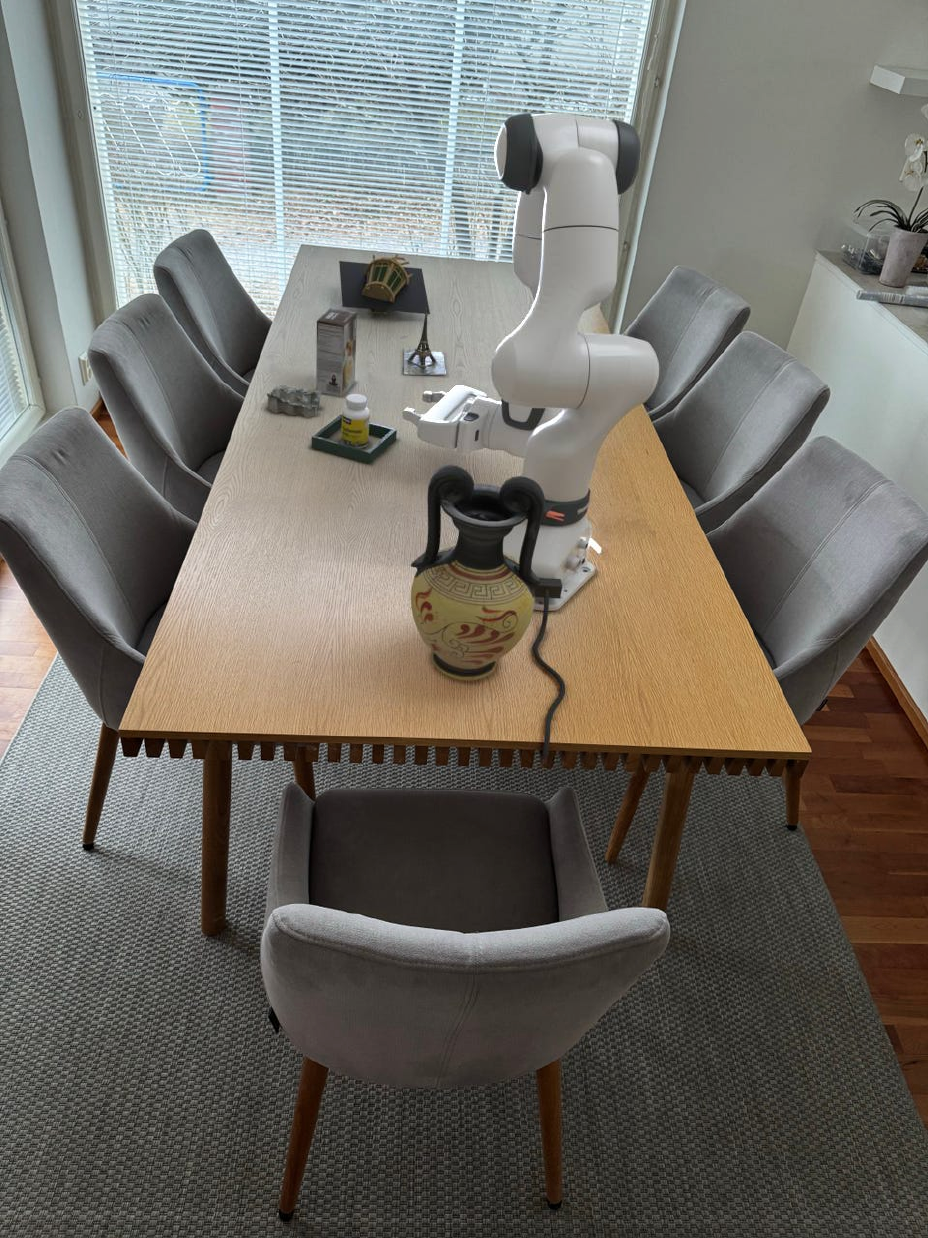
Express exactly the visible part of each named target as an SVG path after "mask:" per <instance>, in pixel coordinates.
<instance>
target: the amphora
mask: <svg viewBox="0 0 928 1238" xmlns="http://www.w3.org/2000/svg"><path fill="white" fill-rule="evenodd" d="M426 496H427V497H426V498H427V500H426V501H427V538H426V540H427V542H426V547H425V551H424V552H423V553H422V554H421V555H419V556H418V557H417V558H415V560H413V561H412V562H411V564H410V567H412V568H415V569H416V572H415V574H414V577H413V579H412V580H413V581H412V584H411V589H410V609H411V614H412V617H413V621H414V624H415V627H416V629H417V632H418V634H419V636H420V638H421V639H422V641H423V643H424V645H426V647H427V648H428V649H429V650H431V652H432V661H433V663H434V665H435V667H436V668H437V669H438V670H439V671H440V672H441V673H443V674H444V675H446V676H448V677H449V678H452V679H456V680H459V681H471V682H472V681H477V680H481V679H482V680H483V679H484V678H487V677H489V676H490V675H491V674H492V673H493V672H494V671H495V669H496V667H497V661H498V660H500V659H501V658H503V657H504V656H506V655H508V654H509V653H510V652H511V651H512V650H513V649H514V648H515V647H516V646H517V645H518V644H519V642H520V641H521V640H522V638H523V637H524V635H525V633H526V631H527V629H528V628H529V626H530V623H531V620H532V617H533V614H534V600H535V591H534V587H535V586H537V585H539V584H541V581H540V579H539V578H538V577H537V575H536V574H535V573H534V572H533V571H532V569H531V566H532V558H533V554H534V549H535V545H536V541H537V537H538V533H539V529H540V525H541V520H542V516H543V511H544V506H545V496H544V493H543V491H542V489H541V487H540V485H539V484H538V483H536V482H535V481H534V480H532V479H530V478H527V477H523V476H522V475H521V476H519V475H518V476H512V477H510V478H508V479H506V480H505V481H504V482H503V484H502V486H499V485H495V484H491V483H485V482H484V483H482V482H475V481H474V478H473V476H472V475H471V474H470V473H469V472H468V471H467V470H466V469H465V468H464V467H462V466H459V465H457V464H456V465H455V464H448V465H444V466H441V467H440V468H438V469H437V470H436V471H435V472H433V474H432V476H431V478H430V480H429V484H428V487H427V495H426ZM442 511H443V512H444V513H445V514H446V515H447V516H448V517H450V518H451V521H452V523H453V526H454V527H455V528H456V529H457V530H458V535H457V540H456V543H455V544H451V545H446V546H444V547H442V548H440V546H441V533H442ZM526 518H528V521H527V526H526V531H525V535H524V539H523V543H522V547H521V552H520V558H519V561H518V560H517V559H516V558H514V557H513V556H511V555H510V554H508V553H507V552H504V551H503V540H504V537H505V536H506V535H508V534H509V533H510V532H511V531H512V529H513V528H514V526H517V525H519V524H521V523H522V522H524V521H525V520H526Z"/></svg>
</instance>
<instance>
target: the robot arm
mask: <svg viewBox="0 0 928 1238" xmlns="http://www.w3.org/2000/svg"><path fill="white" fill-rule="evenodd" d="M641 155H642V153H641V139H640V136H639V133H638V131H637V130H636V128H635V126H634V125H632V124H630V123H628V122H625V121H622V120H619V119H615V118H612V119H610V120H607V119H603V118H598V117H592V116H585V115H584V116H583V115H576V114H575V115H574V114H573V113H562V112H561V113H539V114H531V113H530V112H524V113H517V114H514V115H509V116H508V117H507V118H506V119H505V121H504V122H503V123H502V124H501V125H500V129H499V132H498V136H497V138H496V141H495V145H494V162H495V167H496V171H497V176H498V179H499V180H500V181H501V182H502V184H503V185H504V186H505V187H507V188H509V189H511V190H513V191H517V192H519V193H518V198H517V202H516V208H515V215H514V221H513V231H512V243H511V244H512V245H511V249H512V250H511V252H512V253H511V254H512V266H513V272H514V274H515V276H516V277H517V279H518V280H519V281H520V282H521V284H523V285H524V287H527V288H528V289H529V291H530V292H531V294H532V295H531V296H532V300H533V303H532V306H531V308H530V309H529V311H528V314H526V317H525V318H524V319H523V321H522V322H521V323H520V325H518V327H516V329H514V330H513V331H512V332H511V333H510V334H508V335H506V337H505V338H504V339H503V340H502V341H501V342H500V343H499V344H498V346H497V347H496V350H495V351H494V354H493V357H492V359H491V364H490V376H491V381H492V384H493V387H494V389H495V391H496V393H497V394H498V396H499V397H500V399H501V400H500V401H499V400H494V399H493V398H489V396H488V394H486V393H485V392H483V391H481V390H479V389H476V388H475V389H474V388H472V387H469V386H466V385H455V386H454V387H453V388H451V390H450V391H449V392H447V391H431V390H425V391H424V392H423V393H422V398H421V400H422V402H424V403H427V404H431V403H436V404H434V406H433V407H431V408H430V409H429V410H428V411H427V412H426V413H420V414H419V413H418V412H416V410H415V409H414V408H409V407H406V408H405V409H404V410H403V411H402V419H403V420H404V421H408V422H411V423H412V424H413V425H414V426H415V427H417V428H416V429H417V431H416V435H417V438H418V439H419V440H421V442H424V443H427V444H430V445H432V446H433V445H434V446H436V447H441V448H444V449H450V450H452V449H453V450H454V449H456V453H458V454H460V455H464V456H465V455H469V454H471V453H473V452H475V451H479V450H483V449H488V450H491V451H503V452H505V453H508V454H509V455H511V456H513V457H516V458H517V457H518V458H521V459H523V460H524V461H523V464H522V465H523V466H522V471H521V476H523V477H527V478H530V479H532V480H534V481H535V482H536V483H538V484H539V485H540V487H541V489H542V491H543V493H544V496H545V506H544V511H543V516H542V520H541V525H540V529H539V533H538V537H537V541H536V545H535V549H534V554H533V558H532V566H531V569H532V571H533V572H534V573H535V574H536V575H537V577H538V578H539V579H540V581H541V584H539V585H537V586H535V587H534V591H535V600H534V609H533V611H534V610H536V611H542V612H543V614H542V620H541V625H540V631H539V633H538V636H537V638H536V639H535V641H534V643H533V646H532V647H533V648H532V654H533V657H534V659H535V661H536V662H537V663H538V664H539V665H540V666H541V668H543V669H544V670H545V671H546V672H548V673H549V674H550V675H551V676H553V677H554V679H555V680H556V681H557V683H558V685H559V693H558V695H557V697H556V698H555V700H554V701H553V702H552V704H551V705H550V707H549V709H548V711H547V714H546V718H545V724H544V737H543V738H544V739H543V747H542V754H541V757H542V758H543V759H544V760H545V759H548V758H549V752H550V751H549V750H550V742H551V727H552V726H551V725H552V721H553V715H554V713H555V711H556V709H557V708H558V706H559V705H560V704H561V702H562V701H563V699H564V698H565V694H566V684H565V681H564V679H563V677H562V676H561V675H560V673H558V672H557V671H556V670H555V669H553V668H552V667H551V666H550V665H548V664H547V663H546V662H545V661H544V660H543V659H542V657H541V656H540V653H539V646H540V644H541V643H542V640H543V639H544V636H545V633H546V628H547V624H548V618H549V612H556V611H559V610H560V609H561V608H562V607H563V606H564V605H565V604H566V603H567V602H568V601H569V600H571V598H572V597H573V596H574V595H575V594H577V592H579V590H580V589H581V588H582V587H584V585H585V584H586V583H587V582H588V581H589V580H590V579H591V578H592V577H593V576H594V575H595V573H596V567H595V565H594V564H593V563H592V562H590V561H589V560H588V557H589V551H590V547H592V548H593V549H594V550H595V551H596V552H597V553H598V554H601V551H602V547H601V546H600V545H599V544H598V543H597V542H596V541H595V540H594V539H593V538H592V534H593V526H592V523H591V522H590V521H589V518H588V517H587V513H588V508H589V506H590V501H591V488H590V486H591V485H590V484H591V480H592V476H593V472H594V469H595V465H596V463H597V458H598V455H599V453H600V450H601V448H602V445H603V444H604V442H605V441H606V438H607V437H608V435H609V434H610V433H611V432H612V431H613V429H615V426H616V425H617V424H618V423H619V422H620V421H621V420H622V419H623V418H624V417H625V416H626V415H627V414H629V413H630V412H631V411H633V410H634V409H636V408H638V407H639V406H641V405H642V404H644V403H646V402H647V401H648V400H649V398H651V396H652V395H653V393H654V391H655V390H656V388H657V385H658V382H659V377H660V364H659V363H660V362H659V359H658V356H657V353H656V351H655V349H654V348H653V346H652V345H651V344H650V342H648V341H647V340H645V339H644V340H643V339H640V338H636V337H633V336H629V335H625V334H620V333H590V332H589V333H588V332H587V333H584V332H579V331H578V330H579V323H580V320H581V317H582V315H583V314H584V312H585V311H587V310H590V309H592V308H593V307H595V306H597V305H599V304H600V303H602V302H604V301H605V300H606V299H607V298H608V297H610V296H611V295H612V293H613V291H614V289H615V287H616V284H617V281H618V261H619V259H618V257H619V237H620V236H619V233H620V232H619V231H620V207H619V196H620V195H622V194H625V193H626V192H627V191H628V190H629V189H630V188H631V187H632V186H633V185H634V183H635V181H636V180H637V179H636V178H637V177H638V176H637V175H638V172H639V169H640V165H641ZM527 521H528V518H526V520H525V521H524V522H522V523H521V524H519V525H517V526H514V528H513V529H512V531H511V532H510V533H509V534H508V535H506V536H505V537H504V540H503V551H504V552H507V553H508V554H510V555H511V556H513V557H514V558H516V559H517V560H518V561H519V558H520V552H521V547H522V543H523V539H524V535H525V531H526V526H527ZM518 907H519V903H517V902H514V901H513V902H512V907H511V910H510V915H511V914H512V915H515V916H516V914H517V909H518Z"/></svg>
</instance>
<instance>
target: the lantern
mask: <svg viewBox="0 0 928 1238" xmlns="http://www.w3.org/2000/svg"><path fill="white" fill-rule="evenodd" d="M399 260H400V261H403V262H399ZM338 262H339V277H340V278H339V279H340V289H341V290H340V291H341V292H340V293H341V307H342V308H350V309H363V310H369V311H370V312H369V314H370V315H373V313H376V314H384V315H386V314H388V312H397V313H410V314H411V313H412V314H422V315H425V313H426V309H427V313H428V315H431V311H430V306H429V301H428V300H429V299H428V294H427V290H426V283H425V279H424V273H423V268H420V267H419V268H418V267H409V266H407V265H409V264H410V261H407V259H406V258H404V257H402V256H401V257H399V254H398V253H396V254H395V256H392V257H386V256H384V257H383V256H382V257H378V258H376V255H375V254H374V253H373V254H372V260H371V261H370V262H369V263H365V262H364V263H363V262H354V261H345V260H339V261H338Z"/></svg>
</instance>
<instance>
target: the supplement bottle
mask: <svg viewBox="0 0 928 1238" xmlns="http://www.w3.org/2000/svg"><path fill="white" fill-rule="evenodd" d="M367 404H368V399H367V397H366V396H365V395H363V394H360V393H351V394H348V395H347V396H346V398H345V406H344V407H343V408H342V410H341V414H342V428H341V429H340V430H341V431H340V432H341V434H340V443H342V444H346V445H350V446H353V447H357V448H361V449H364V448H366V447H368V445H369V436H370V435H369V422H370V420H371V419H370V416H371V414H370V413H371V411H370V409H369V408H368V407H367V406H368V405H367Z"/></svg>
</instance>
